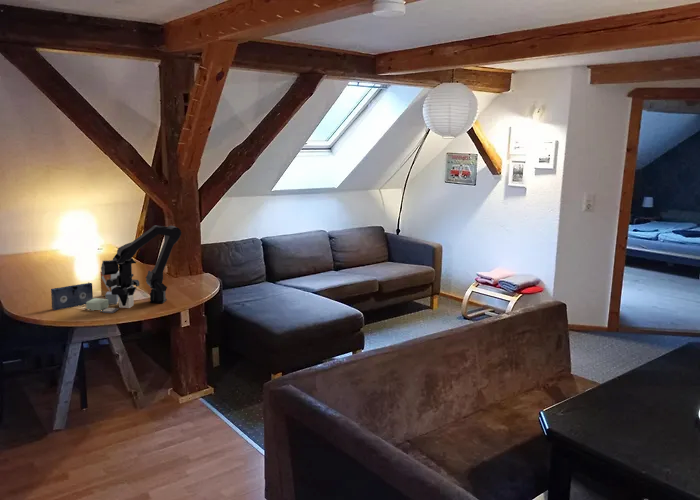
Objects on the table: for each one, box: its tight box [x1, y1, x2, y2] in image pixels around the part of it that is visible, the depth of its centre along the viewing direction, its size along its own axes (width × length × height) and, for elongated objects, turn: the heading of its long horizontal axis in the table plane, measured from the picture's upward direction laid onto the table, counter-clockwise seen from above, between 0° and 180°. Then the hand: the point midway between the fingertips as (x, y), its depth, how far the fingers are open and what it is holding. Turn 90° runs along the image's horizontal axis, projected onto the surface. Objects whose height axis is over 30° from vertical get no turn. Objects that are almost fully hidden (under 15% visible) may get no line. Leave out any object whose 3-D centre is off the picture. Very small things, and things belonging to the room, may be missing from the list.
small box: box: [100, 270, 121, 298], centre depth 280 cm, size 8×6×13 cm
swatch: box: [99, 307, 119, 314], centre depth 258 cm, size 6×6×1 cm
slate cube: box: [105, 292, 119, 305], centre depth 270 cm, size 5×5×5 cm
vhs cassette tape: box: [50, 282, 94, 311], centre depth 262 cm, size 18×3×10 cm, turn 139°
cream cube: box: [118, 294, 135, 309], centre depth 266 cm, size 5×5×5 cm
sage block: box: [85, 297, 109, 312], centre depth 261 cm, size 7×7×4 cm
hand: (126, 304), depth 266 cm, fingers closed on cream cube, 5 cm apart
